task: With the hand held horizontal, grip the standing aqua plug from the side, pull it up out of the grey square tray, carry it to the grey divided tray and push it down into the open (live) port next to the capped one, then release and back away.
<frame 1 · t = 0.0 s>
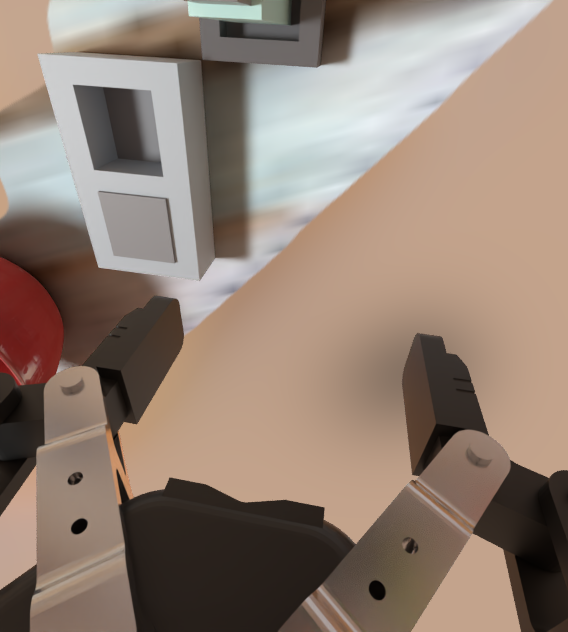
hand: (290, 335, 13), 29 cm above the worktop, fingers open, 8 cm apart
mixing bowl: (13, 296, 56), on the worktop
grey divided tray: (155, 168, 40), on the worktop
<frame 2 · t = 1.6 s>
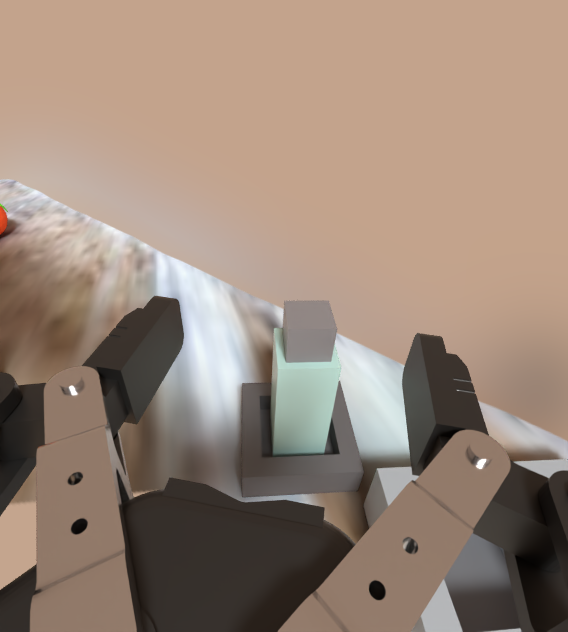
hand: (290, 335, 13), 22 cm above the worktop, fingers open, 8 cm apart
plug: (295, 436, 34), point 1 cm above the worktop, touching grey square tray
grey divided tray: (521, 582, 27), on the worktop
grey square tray: (294, 443, 35), on the worktop
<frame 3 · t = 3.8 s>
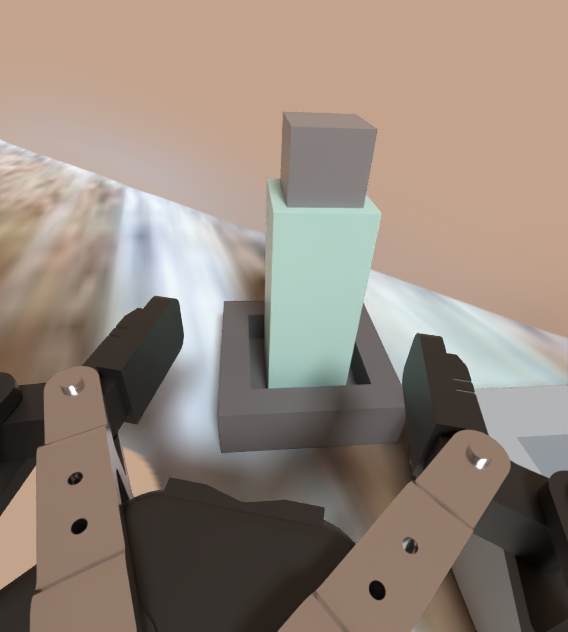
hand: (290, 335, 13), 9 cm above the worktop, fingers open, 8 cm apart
plug: (301, 370, 23), point 1 cm above the worktop, touching grey square tray
grey square tray: (300, 381, 24), on the worktop
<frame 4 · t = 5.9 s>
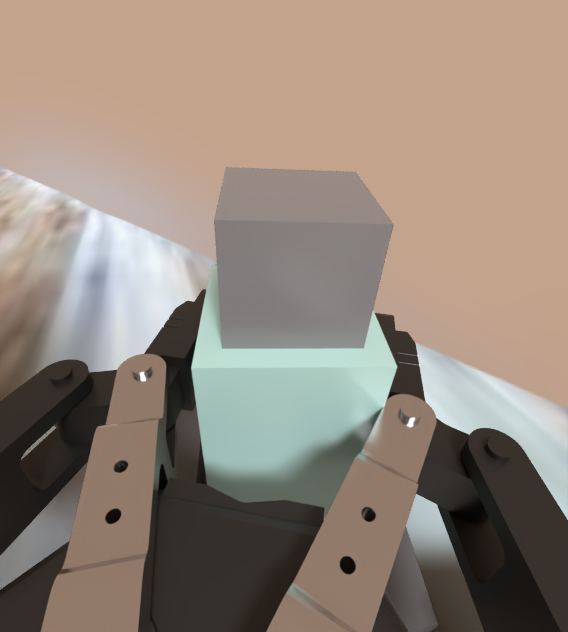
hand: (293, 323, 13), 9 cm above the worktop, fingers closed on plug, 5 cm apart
plug: (274, 512, 16), point 1 cm above the worktop, touching gripper, grey square tray
grey square tray: (273, 522, 17), on the worktop
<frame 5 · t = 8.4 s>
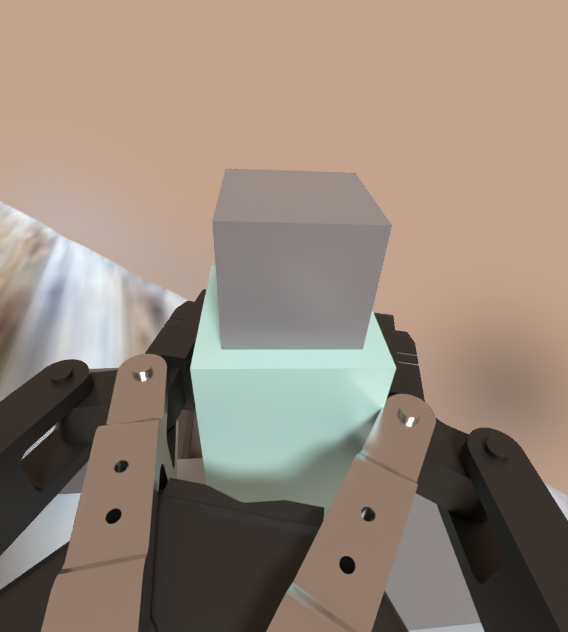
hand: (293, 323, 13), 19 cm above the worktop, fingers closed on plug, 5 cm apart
plug: (274, 514, 16), point 11 cm above the worktop, touching gripper
grey divided tray: (339, 587, 23), on the worktop
grey square tray: (133, 434, 31), on the worktop
when the fingers open (11 cm above the worktop, at t = 10.8 s): plug drops 1 cm, resting on grey divided tray.
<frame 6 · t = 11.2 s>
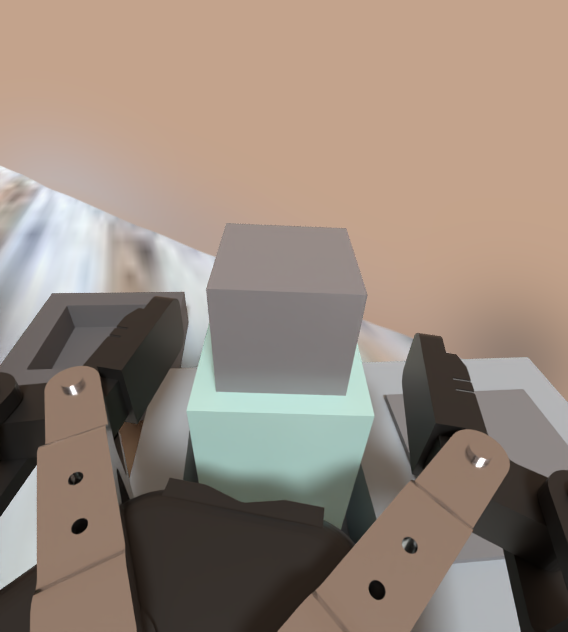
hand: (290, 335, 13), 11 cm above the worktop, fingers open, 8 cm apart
plug: (271, 529, 17), point 1 cm above the worktop, touching grey divided tray
grey divided tray: (363, 530, 18), on the worktop
grey square tray: (111, 366, 26), on the worktop
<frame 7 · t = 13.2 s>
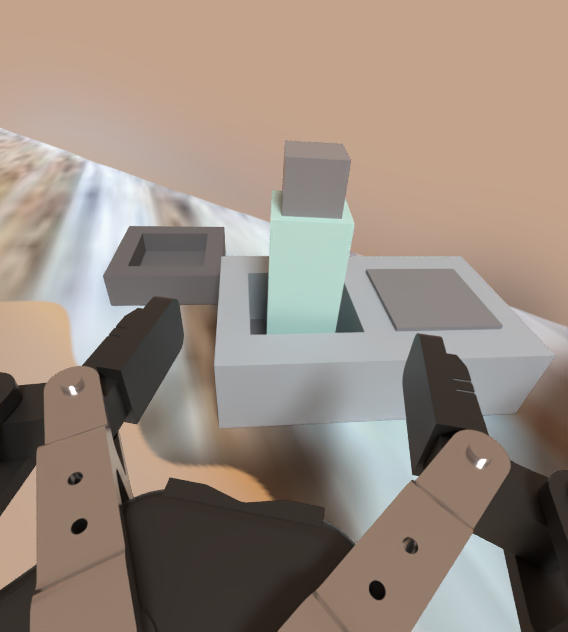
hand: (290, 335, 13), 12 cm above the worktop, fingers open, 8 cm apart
plug: (296, 348, 28), point 1 cm above the worktop, touching grey divided tray
grey divided tray: (352, 356, 29), on the worktop
grey square tray: (174, 275, 37), on the worktop
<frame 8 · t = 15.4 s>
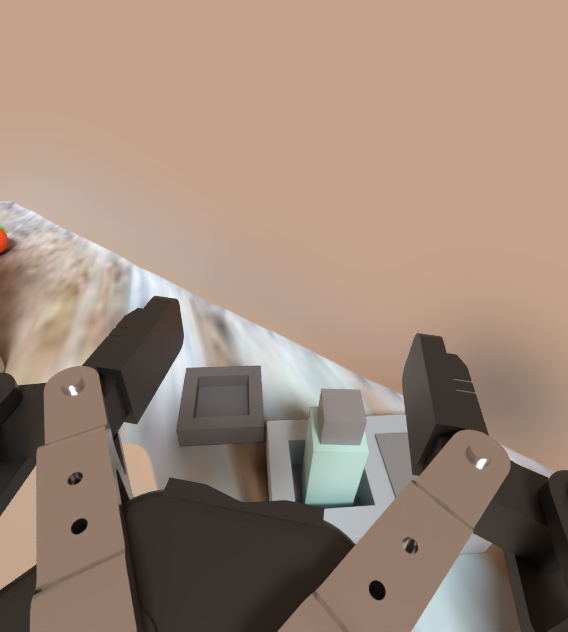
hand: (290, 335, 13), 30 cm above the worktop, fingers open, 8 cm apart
plug: (323, 495, 38), point 1 cm above the worktop, touching grey divided tray
grey divided tray: (364, 496, 39), on the worktop
grey square tray: (223, 410, 47), on the worktop
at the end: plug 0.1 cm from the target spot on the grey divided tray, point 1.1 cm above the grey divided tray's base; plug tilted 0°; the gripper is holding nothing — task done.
